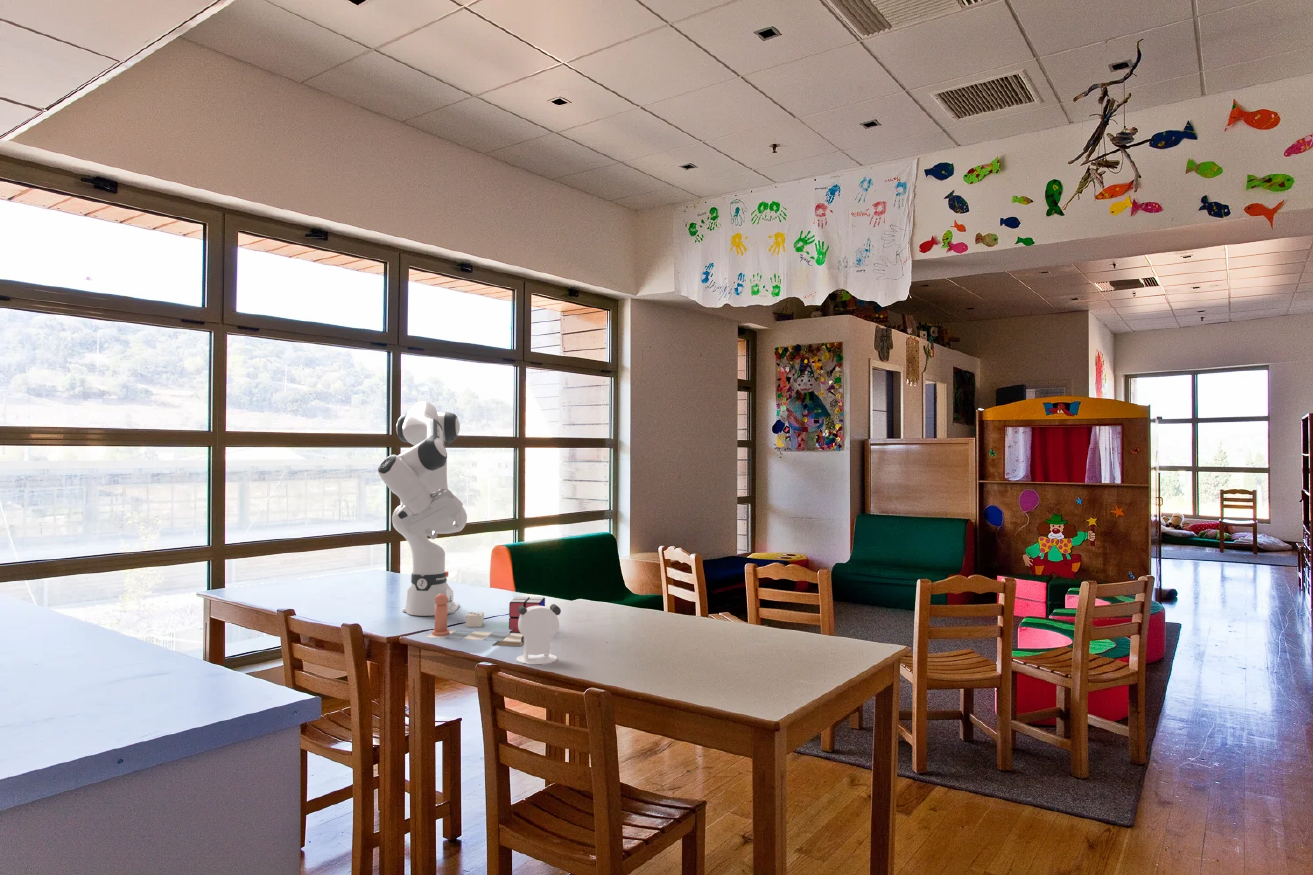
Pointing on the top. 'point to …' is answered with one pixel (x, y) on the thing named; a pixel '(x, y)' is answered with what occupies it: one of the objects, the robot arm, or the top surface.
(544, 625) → the panda figurine
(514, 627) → the puzzle cube
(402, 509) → the robot arm
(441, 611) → the dildo
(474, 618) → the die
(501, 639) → the track
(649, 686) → the top surface
